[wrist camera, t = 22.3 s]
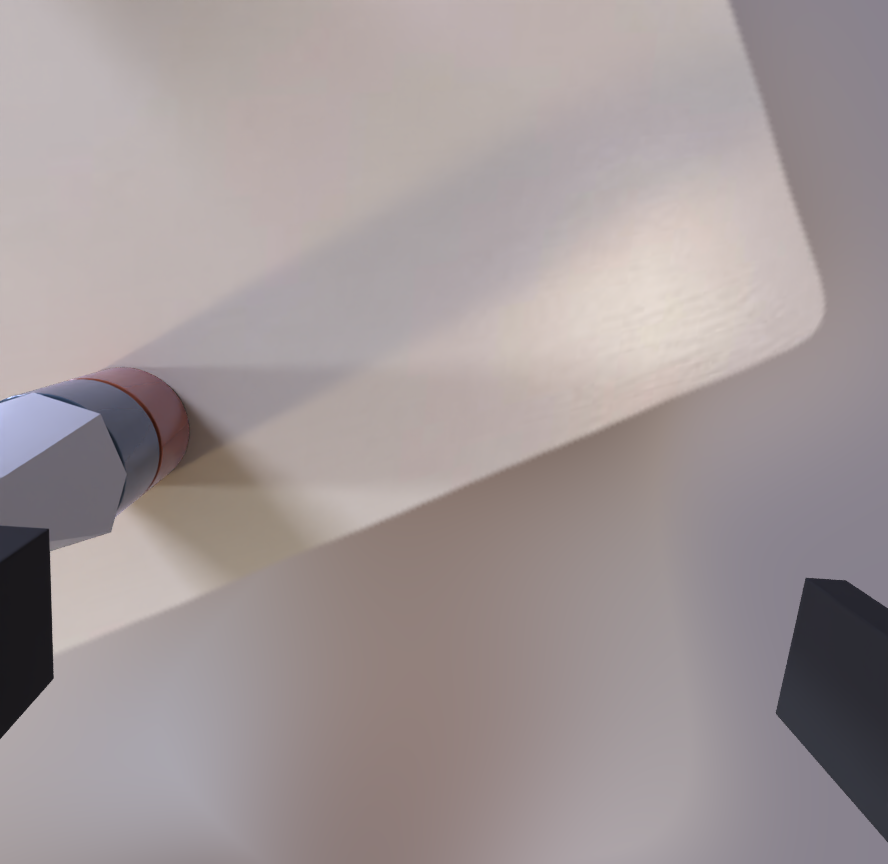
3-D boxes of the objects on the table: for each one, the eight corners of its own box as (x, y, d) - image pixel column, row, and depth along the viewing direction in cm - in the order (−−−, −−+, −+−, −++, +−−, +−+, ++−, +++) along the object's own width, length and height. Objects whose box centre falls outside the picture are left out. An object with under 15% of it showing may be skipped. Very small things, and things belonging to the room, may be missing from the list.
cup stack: (207, 396, 39) (147, 431, 30) (165, 502, 40) (96, 567, 31) (88, 347, 38) (-12, 367, 29) (49, 457, 39) (-59, 510, 30)
